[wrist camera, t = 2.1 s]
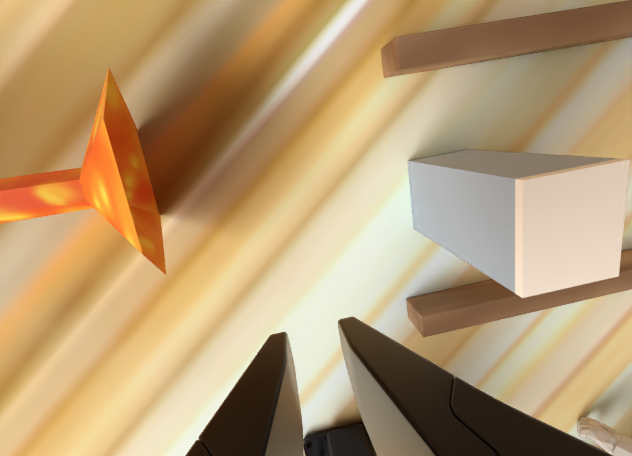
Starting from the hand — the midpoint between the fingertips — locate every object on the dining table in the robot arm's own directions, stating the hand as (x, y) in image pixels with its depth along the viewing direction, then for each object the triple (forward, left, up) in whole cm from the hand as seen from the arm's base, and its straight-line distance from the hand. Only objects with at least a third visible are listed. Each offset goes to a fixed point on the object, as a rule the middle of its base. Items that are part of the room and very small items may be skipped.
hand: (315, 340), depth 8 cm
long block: (0, -10, -13) cm, 16 cm away
